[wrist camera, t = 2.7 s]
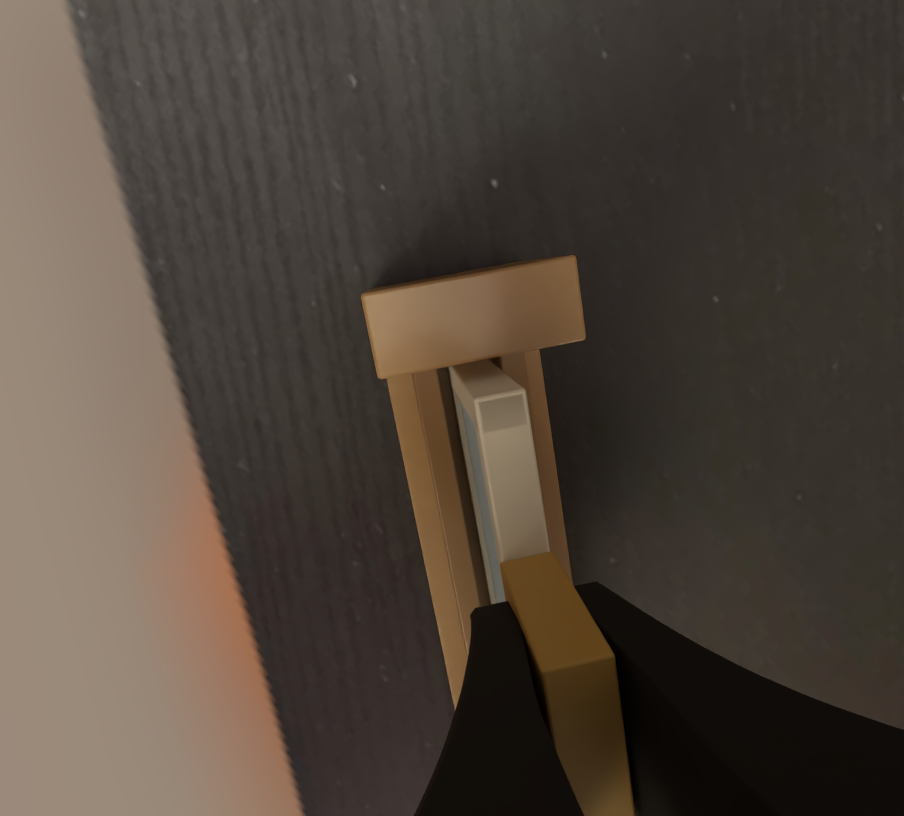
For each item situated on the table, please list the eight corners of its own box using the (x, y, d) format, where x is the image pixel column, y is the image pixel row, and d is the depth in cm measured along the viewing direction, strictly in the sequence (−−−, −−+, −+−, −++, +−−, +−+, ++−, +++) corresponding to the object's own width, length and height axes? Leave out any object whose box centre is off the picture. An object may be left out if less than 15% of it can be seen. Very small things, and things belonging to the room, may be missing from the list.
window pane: (500, 669, 17) (595, 1010, 9) (443, 358, 15) (504, 450, 7) (534, 661, 17) (659, 993, 9) (483, 351, 15) (587, 434, 7)
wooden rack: (500, 926, 20) (534, 1129, 16) (369, 288, 15) (359, 293, 10) (611, 898, 21) (679, 1089, 16) (518, 261, 16) (576, 253, 11)
